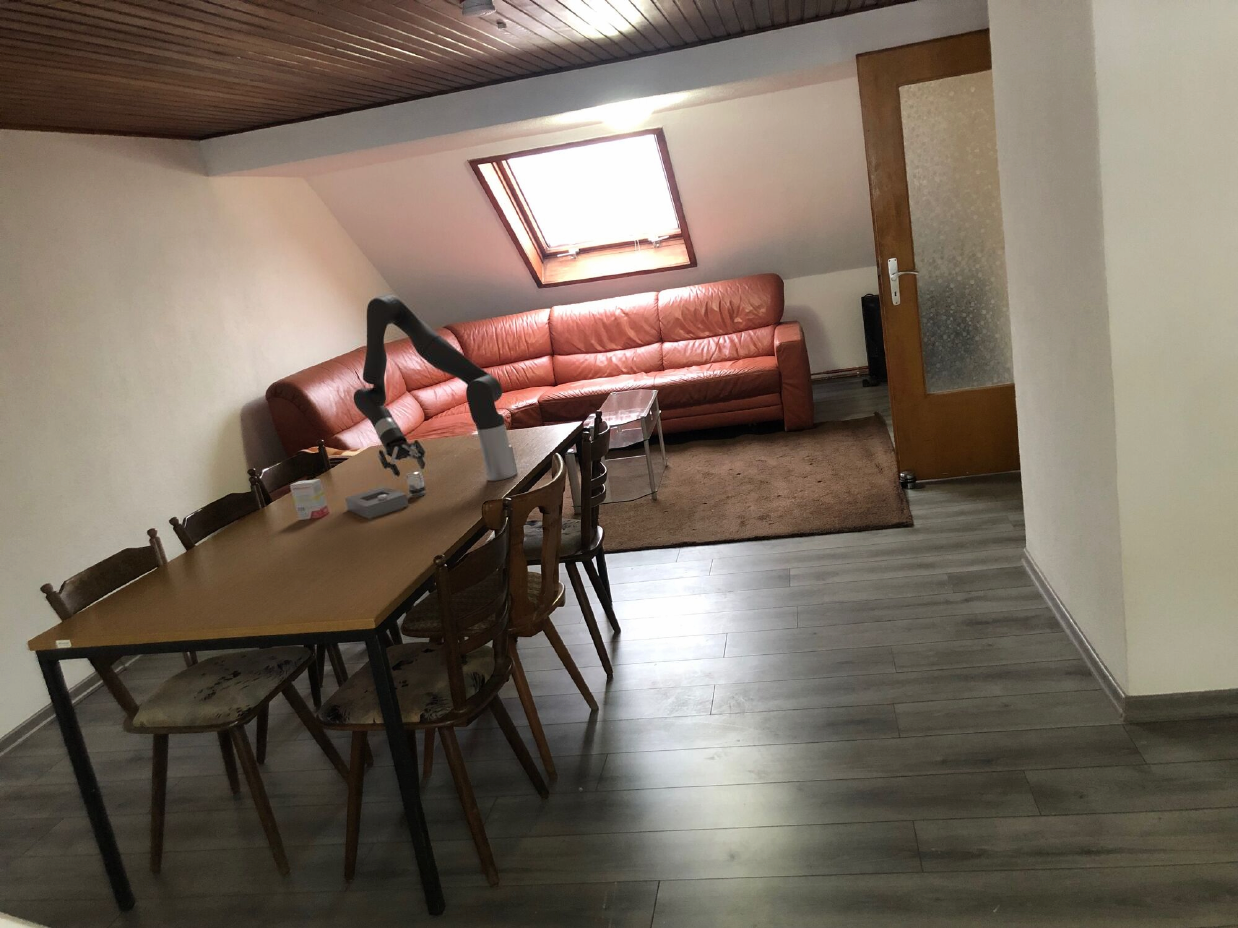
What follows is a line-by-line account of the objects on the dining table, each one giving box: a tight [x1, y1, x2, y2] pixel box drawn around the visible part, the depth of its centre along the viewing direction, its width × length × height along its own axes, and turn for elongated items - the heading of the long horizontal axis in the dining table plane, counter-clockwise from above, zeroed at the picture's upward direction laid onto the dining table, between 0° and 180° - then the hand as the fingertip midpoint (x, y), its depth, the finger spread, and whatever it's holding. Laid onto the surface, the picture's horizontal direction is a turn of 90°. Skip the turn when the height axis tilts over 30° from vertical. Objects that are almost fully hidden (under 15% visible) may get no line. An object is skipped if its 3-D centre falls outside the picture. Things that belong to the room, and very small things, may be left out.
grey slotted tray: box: [344, 485, 410, 520], centre depth 300 cm, size 13×20×5 cm, turn 35°
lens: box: [405, 470, 427, 499], centre depth 307 cm, size 5×5×8 cm
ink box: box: [289, 478, 330, 521], centre depth 303 cm, size 9×5×12 cm, turn 74°
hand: (411, 471), depth 307 cm, fingers open, 8 cm apart
